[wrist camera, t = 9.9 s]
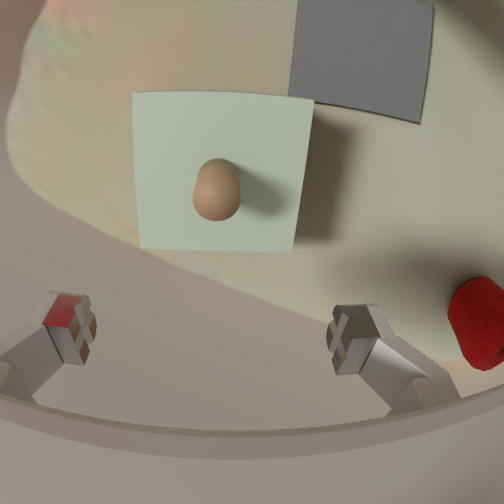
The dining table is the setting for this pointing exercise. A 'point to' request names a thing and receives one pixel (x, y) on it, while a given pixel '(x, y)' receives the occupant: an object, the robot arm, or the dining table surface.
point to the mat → (363, 54)
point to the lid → (219, 169)
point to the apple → (479, 322)
